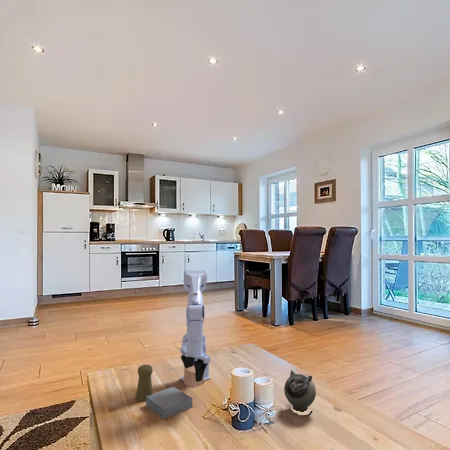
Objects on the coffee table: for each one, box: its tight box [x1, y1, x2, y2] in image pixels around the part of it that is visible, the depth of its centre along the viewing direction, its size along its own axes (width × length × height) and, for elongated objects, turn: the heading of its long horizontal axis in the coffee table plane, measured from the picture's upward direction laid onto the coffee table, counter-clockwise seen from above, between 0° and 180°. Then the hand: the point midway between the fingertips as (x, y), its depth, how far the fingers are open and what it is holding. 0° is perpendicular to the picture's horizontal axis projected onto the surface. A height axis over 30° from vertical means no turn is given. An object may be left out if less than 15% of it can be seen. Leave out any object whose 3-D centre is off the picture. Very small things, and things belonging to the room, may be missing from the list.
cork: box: [135, 364, 154, 402], centre depth 115 cm, size 6×6×11 cm
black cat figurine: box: [283, 369, 317, 412], centre depth 108 cm, size 10×12×10 cm
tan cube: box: [183, 366, 205, 389], centre depth 114 cm, size 5×5×5 cm
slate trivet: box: [145, 386, 193, 420], centre depth 109 cm, size 11×11×3 cm
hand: (194, 378), depth 114 cm, fingers closed on tan cube, 5 cm apart
